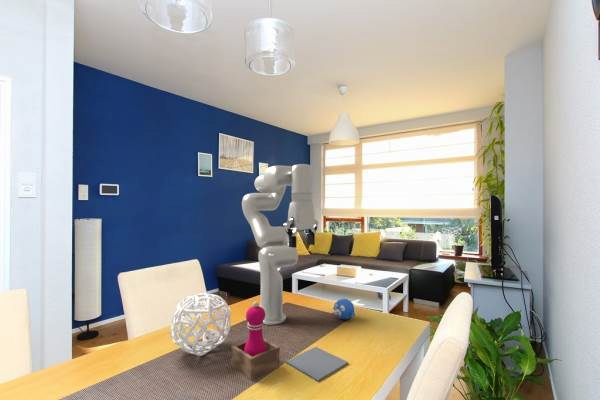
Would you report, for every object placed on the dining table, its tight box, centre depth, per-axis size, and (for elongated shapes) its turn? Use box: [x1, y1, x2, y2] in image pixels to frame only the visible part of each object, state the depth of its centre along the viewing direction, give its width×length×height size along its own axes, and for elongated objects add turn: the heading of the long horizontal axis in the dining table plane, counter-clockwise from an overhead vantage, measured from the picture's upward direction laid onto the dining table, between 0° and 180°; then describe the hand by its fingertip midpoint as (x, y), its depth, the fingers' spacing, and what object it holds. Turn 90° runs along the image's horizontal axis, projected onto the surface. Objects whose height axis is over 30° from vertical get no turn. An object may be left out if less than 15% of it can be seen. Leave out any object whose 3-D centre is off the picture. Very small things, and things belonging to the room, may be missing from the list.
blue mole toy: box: [331, 298, 356, 320], centre depth 132 cm, size 12×12×8 cm
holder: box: [230, 337, 281, 381], centre depth 95 cm, size 11×11×6 cm
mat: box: [285, 346, 349, 382], centre depth 96 cm, size 14×14×1 cm
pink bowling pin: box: [244, 301, 267, 357], centre depth 95 cm, size 7×7×20 cm
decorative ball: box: [169, 292, 232, 357], centre depth 104 cm, size 20×20×19 cm
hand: (302, 245), depth 110 cm, fingers open, 9 cm apart
